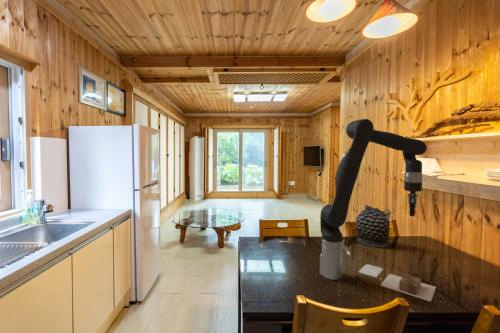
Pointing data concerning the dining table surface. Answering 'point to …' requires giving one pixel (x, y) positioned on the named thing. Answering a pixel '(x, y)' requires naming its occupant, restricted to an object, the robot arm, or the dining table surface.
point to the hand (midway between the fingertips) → (412, 215)
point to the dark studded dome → (373, 227)
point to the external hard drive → (370, 271)
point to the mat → (393, 283)
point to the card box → (410, 284)
